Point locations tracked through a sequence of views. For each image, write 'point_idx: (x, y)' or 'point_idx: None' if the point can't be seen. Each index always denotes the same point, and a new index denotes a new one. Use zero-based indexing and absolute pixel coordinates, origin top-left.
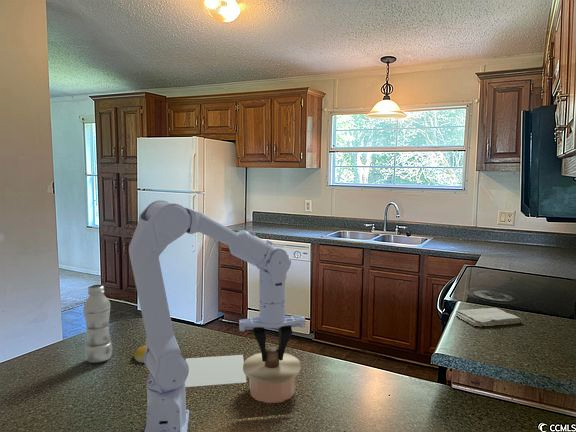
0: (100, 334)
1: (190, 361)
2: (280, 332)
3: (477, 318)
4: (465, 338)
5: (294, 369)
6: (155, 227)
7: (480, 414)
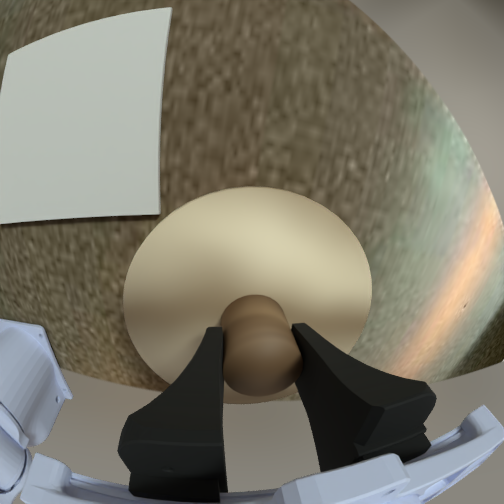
0: None
1: (13, 69)
2: (334, 465)
3: None
4: None
5: None
6: None
7: (494, 347)
